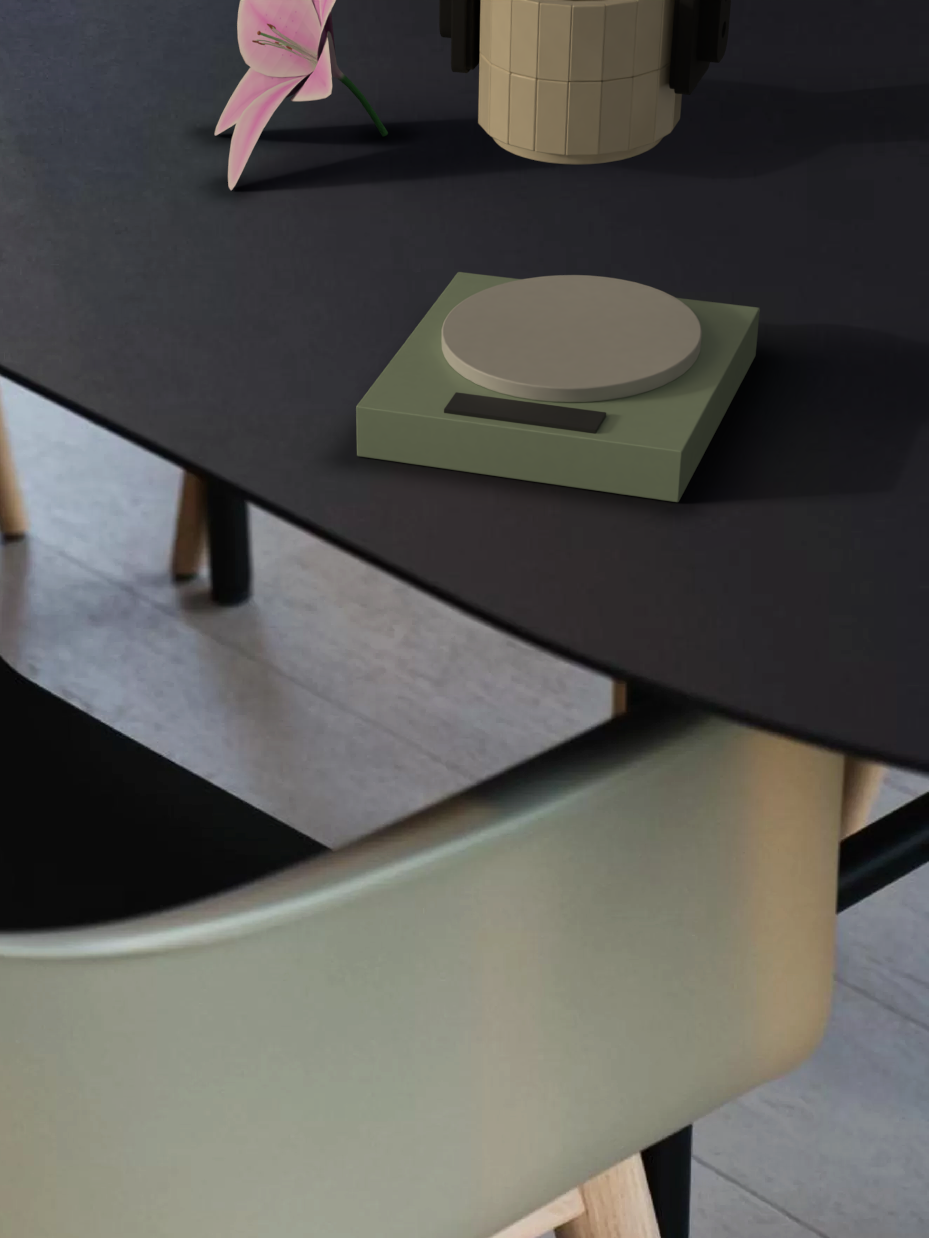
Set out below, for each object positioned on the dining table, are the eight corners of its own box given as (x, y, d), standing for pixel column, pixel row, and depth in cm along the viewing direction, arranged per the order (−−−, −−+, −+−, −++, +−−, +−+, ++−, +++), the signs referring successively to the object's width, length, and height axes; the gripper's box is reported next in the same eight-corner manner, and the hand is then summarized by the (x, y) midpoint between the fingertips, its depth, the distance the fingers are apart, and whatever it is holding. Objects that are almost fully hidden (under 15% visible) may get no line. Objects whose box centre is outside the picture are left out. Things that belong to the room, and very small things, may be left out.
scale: (755, 356, 97) (761, 291, 95) (678, 503, 89) (683, 435, 87) (457, 318, 101) (458, 256, 99) (356, 456, 92) (355, 390, 91)
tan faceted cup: (699, 104, 90) (711, -56, 87) (649, 179, 85) (660, 13, 82) (511, 86, 92) (515, -71, 89) (452, 157, 87) (454, -5, 84)
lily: (267, 104, 122) (165, -58, 115) (487, 21, 116) (393, -155, 109) (228, 277, 116) (118, 116, 109) (458, 198, 110) (357, 24, 103)
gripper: (921, -543, 76) (853, 55, 87) (375, -553, 81) (379, 12, 93) (872, -494, 71) (807, 135, 82) (292, -508, 76) (307, 84, 88)
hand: (580, 65), depth 87 cm, fingers closed on tan faceted cup, 7 cm apart
